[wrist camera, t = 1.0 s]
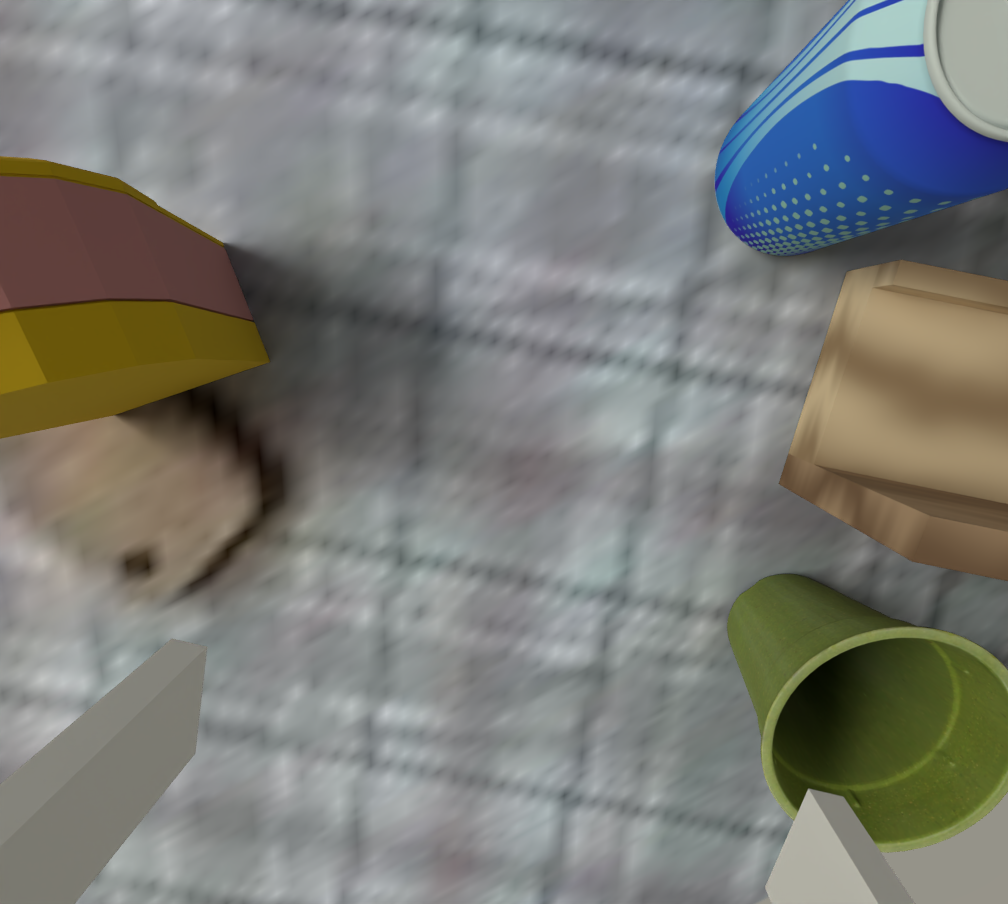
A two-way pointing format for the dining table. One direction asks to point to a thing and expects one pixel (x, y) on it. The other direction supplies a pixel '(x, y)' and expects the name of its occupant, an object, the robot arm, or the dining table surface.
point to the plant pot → (872, 711)
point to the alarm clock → (107, 300)
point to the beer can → (872, 126)
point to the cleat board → (913, 416)
